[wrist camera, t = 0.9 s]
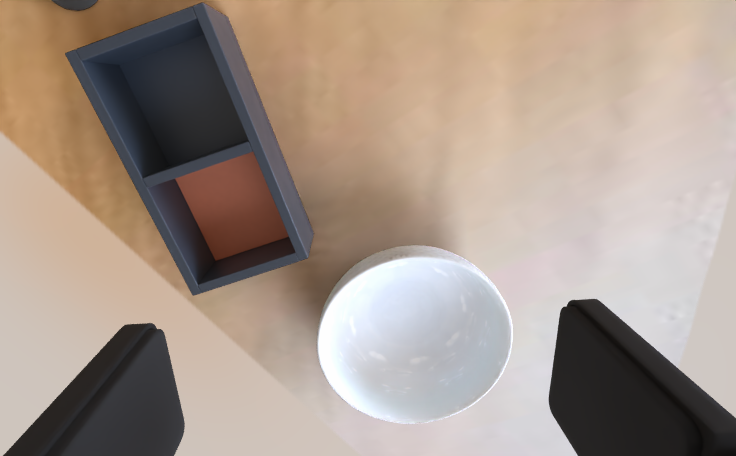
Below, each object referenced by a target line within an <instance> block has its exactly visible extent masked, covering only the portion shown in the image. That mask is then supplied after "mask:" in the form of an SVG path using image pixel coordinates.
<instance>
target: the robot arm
mask: <svg viewBox="0 0 736 456" xmlns="http://www.w3.org/2000/svg"><path fill="white" fill-rule="evenodd" d="M549 406H550V409H551V412H552V414H553V416H554V418H555V419H556V421H557V423H558V424H559V426H560V427H561V429H562V431H563V432H564V434H565V435H566V437H567V439H568V440H569V442H570V443H571V445H572V447H573V448H574V450H575V452H576V453H577V455H578V456H736V418H735V417H734V416H732V415H731V414H730V413H729V412H728V411H727V410H726V409H724V408H723V407H722V406H721V405H720V404H719V403H717V402H716V401H715V400H714V399H713V398H712V397H710V396H709V395H708V394H707V393H706V392H705V391H703V390H702V389H701V388H700V387H699V386H697V385H696V384H695V383H694V382H693V381H692V380H691V379H690V378H688V377H687V376H686V375H685V374H684V373H682V372H681V371H680V370H679V369H678V368H677V367H676V366H674V365H673V364H672V363H671V362H670V361H669V360H668V359H666V358H665V357H664V356H663V355H662V354H661V353H659V352H658V351H657V350H656V349H655V348H654V347H652V346H651V345H650V344H649V343H648V342H647V341H645V340H644V339H643V338H642V337H641V336H640V335H639V334H637V333H636V332H635V331H634V330H633V329H632V328H630V327H629V326H628V325H627V324H626V323H625V322H623V321H622V320H621V319H620V318H619V317H618V316H616V315H615V314H614V313H613V312H612V311H611V310H609V309H608V308H607V307H606V306H605V305H604V304H603V303H601V302H600V301H599V300H597V299H585V300H571V301H570V302H569V303H568V304H567V307H563V308H562V309H561V312H560V318H559V325H558V333H557V340H556V348H555V355H554V362H553V370H552V377H551V385H550V392H549ZM183 433H184V418H183V413H182V409H181V404H180V400H179V395H178V391H177V387H176V383H175V378H174V374H173V369H172V365H171V360H170V356H169V352H168V347H167V343H166V339H165V335H164V332H163V331H162V330H161V329H157V328H156V326H155V325H154V324H152V323H147V324H130V325H124V326H123V327H122V328H121V329H120V330H119V331H118V332H117V333H116V334H115V335H114V337H113V338H112V339H111V340H110V341H109V342H108V343H107V344H106V345H105V346H104V347H103V348H102V349H101V350H100V352H99V353H98V354H97V355H96V356H95V357H94V358H93V359H92V360H91V362H89V363H88V365H87V366H86V367H85V368H84V369H83V370H82V371H81V372H80V373H79V374H78V375H77V376H76V378H75V379H74V380H73V381H72V382H71V383H70V384H69V385H68V386H67V387H66V388H65V389H64V390H63V392H62V393H61V394H60V395H59V396H58V397H57V398H56V399H55V400H54V401H53V402H52V404H51V405H50V406H49V407H48V408H47V409H46V410H45V411H44V412H43V413H42V414H41V415H40V417H39V418H38V419H37V420H36V421H35V422H34V423H33V424H32V425H31V426H30V427H29V428H28V429H27V431H26V432H25V433H24V434H23V435H22V436H21V437H20V438H19V439H18V440H17V441H16V443H14V445H13V446H12V447H11V448H10V449H9V450H8V451H7V452H6V453H5V454H4V455H3V456H174V454H175V452H176V450H177V448H178V446H179V444H180V442H181V439H182V437H183Z"/></svg>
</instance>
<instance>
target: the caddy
mask: <svg viewBox="0 0 736 456" xmlns="http://www.w3.org/2000/svg"><path fill="white" fill-rule="evenodd" d="M65 55H66V57H67V58H68V60H69V62H70V64H71V66H72V68H73V70H74V72H75V74H76V75H77V77H78V79H79V81H80V83H81V85H82V87H83V89H84V91H85V92H86V94H87V96H88V98H89V100H90V102H91V104H92V106H93V108H94V110H95V111H96V113H97V115H98V117H99V119H100V121H101V123H102V125H103V127H104V128H105V130H106V132H107V134H108V136H109V138H110V140H111V142H112V144H113V145H114V147H115V149H116V151H117V153H118V155H119V157H120V159H121V161H122V162H123V164H124V166H125V168H126V170H127V172H128V174H129V176H130V178H131V180H132V181H133V183H134V185H135V187H136V189H137V191H138V193H139V195H140V197H141V198H142V200H143V202H144V204H145V206H146V208H147V210H148V212H149V214H150V215H151V217H152V219H153V221H154V223H155V225H156V227H157V229H158V231H159V233H160V234H161V236H162V238H163V240H164V242H165V244H166V246H167V248H168V250H169V251H170V253H171V255H172V257H173V259H174V261H175V263H176V265H177V267H178V268H179V270H180V272H181V274H182V276H183V278H184V280H185V282H186V284H187V285H188V287H189V289H190V291H191V293H192V295H193V296H194V295H197V294H200V293H203V292H206V291H209V290H212V289H215V288H218V287H222V286H225V285H228V284H231V283H234V282H237V281H240V280H243V279H246V278H249V277H252V276H255V275H258V274H261V273H264V272H267V271H271V270H274V269H277V268H280V267H283V266H286V265H289V264H292V263H295V262H298V261H301V260H304V259H307V258H308V256H309V252H310V248H311V243H312V239H313V235H314V233H313V230H312V228H311V225H310V223H309V220H308V218H307V215H306V212H305V210H304V207H303V205H302V202H301V200H300V197H299V195H298V192H297V190H296V187H295V185H294V182H293V180H292V177H291V175H290V172H289V170H288V167H287V165H286V162H285V160H284V157H283V155H282V152H281V150H280V147H279V145H278V142H277V140H276V137H275V134H274V132H273V129H272V127H271V124H270V122H269V119H268V117H267V114H266V112H265V109H264V107H263V104H262V102H261V99H260V97H259V94H258V92H257V89H256V87H255V84H254V82H253V79H252V77H251V74H250V72H249V69H248V67H247V64H246V62H245V59H244V57H243V54H242V51H241V49H240V46H239V44H238V41H237V39H236V36H235V34H234V31H233V29H232V26H231V24H230V21H229V19H228V17H227V16H225V15H223V14H222V13H220V12H218V11H217V10H215V9H213V8H211V7H210V6H208V5H206V4H205V3H203V2H202V3H199V4H197V5H194V6H193V7H188V8H186V9H183V10H180V11H178V12H175V13H172V14H170V15H167V16H164V17H162V18H159V19H156V20H153V21H151V22H148V23H145V24H143V25H140V26H137V27H135V28H132V29H129V30H126V31H124V32H121V33H118V34H116V35H113V36H110V37H108V38H105V39H102V40H99V41H97V42H94V43H91V44H89V45H86V46H83V47H81V48H78V49H76V50H72V51H70V52H67V53H65Z"/></svg>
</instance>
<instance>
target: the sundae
mask: <svg viewBox="0 0 736 456" xmlns="http://www.w3.org/2000/svg"><path fill="white" fill-rule="evenodd" d="M52 1H53V2H54V3H56V4H58V5H59V6H61V7H63V8H65V9H69V10H77V11H79V10H84V9H87V8H89V7H91V6H92V5H93V4H95V3H96V1H97V0H52Z"/></svg>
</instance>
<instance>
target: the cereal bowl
mask: <svg viewBox="0 0 736 456" xmlns="http://www.w3.org/2000/svg"><path fill="white" fill-rule="evenodd" d="M512 338H513V329H512V321H511V317H510V313H509V310H508V308H507V306H506V303H505V301H504V299H503V297H502V296H501V295H500V292H499V291H498V289H497V288H496V287H495V285H494V284H493V283H492V282H491V281H490V280H489V278H488V277H487V276H485V274H484V273H483V272H481V271H480V270H479V269H478V268H477V267H476V266H474V265H473V264H472V263H471V262H469V261H467V260H465V259H464V258H462V257H461V256H458V255H456V254H454V253H452V252H449V251H446V250H444V249H440V248H435V247H430V246H422V245H408V246H399V247H394V248H390V249H387V250H383V251H381V252H378V253H375V254H373V255H370V256H369V257H366V258H365V259H363V260H361V261H360V262H359V263H357V264H356V265H355V266H353V267H352V268H351V269H350V270H348V272H347V273H346V274H344V275H343V277H342V278H341V279H340V280H339V281H338V282H337V284H336V285H335V287H334V288H333V289H332V291H331V293H330V295H329V297H328V299H327V301H326V303H325V305H324V308H323V310H322V314H321V317H320V321H319V326H318V332H317V354H318V359H319V363H320V366H321V369H322V371H323V373H324V376H325V377H326V379H327V381H328V383H329V384H330V386H331V387H332V388H333V389H334V391H335V392H336V393H337V394H338V395H339V396H340V397H341V398H342V399H343V400H344V401H345V402H347V403H348V404H349V405H351V406H352V407H354V408H355V409H357V410H358V411H360V412H362V413H364V414H366V415H369V416H371V417H374V418H377V419H380V420H384V421H389V422H395V423H405V424H416V423H426V422H432V421H437V420H441V419H444V418H447V417H450V416H452V415H455V414H457V413H459V412H461V411H463V410H465V409H467V408H468V407H470V406H471V405H473V404H474V403H476V402H477V401H478V400H480V399H481V398H482V397H483V396H484V395H485V394H487V393H488V392H489V390H490V389H491V388H492V387H493V386H494V385H495V383H496V382H497V381H498V379H499V378H500V376H501V374H502V373H503V371H504V369H505V367H506V364H507V362H508V359H509V356H510V352H511V347H512Z"/></svg>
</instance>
